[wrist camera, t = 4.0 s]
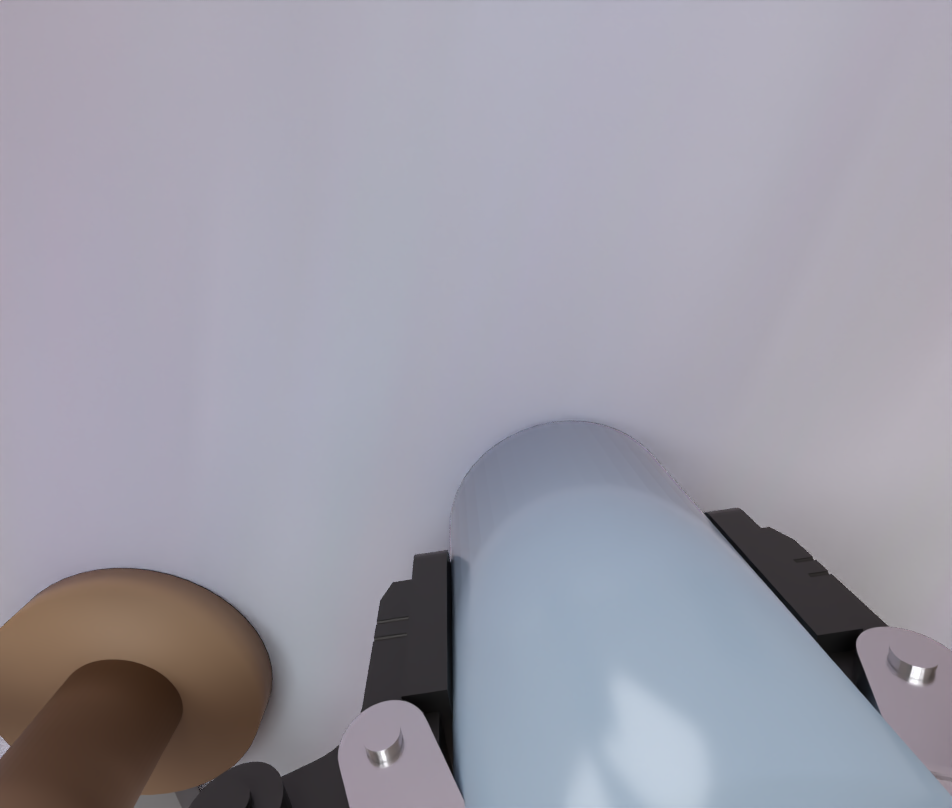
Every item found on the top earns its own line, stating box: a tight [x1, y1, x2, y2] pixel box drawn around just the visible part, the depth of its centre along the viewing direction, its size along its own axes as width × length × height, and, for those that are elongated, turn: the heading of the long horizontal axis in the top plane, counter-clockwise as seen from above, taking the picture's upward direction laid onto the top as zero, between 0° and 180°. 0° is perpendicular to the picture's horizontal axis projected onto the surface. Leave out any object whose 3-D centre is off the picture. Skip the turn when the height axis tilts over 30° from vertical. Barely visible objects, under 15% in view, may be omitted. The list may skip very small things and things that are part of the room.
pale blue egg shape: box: [450, 421, 952, 808], centre depth 9 cm, size 6×6×8 cm
